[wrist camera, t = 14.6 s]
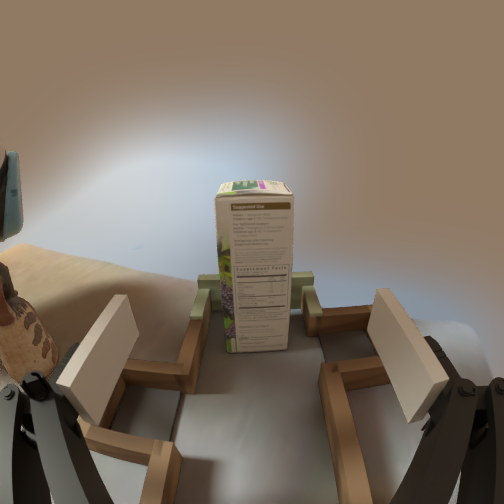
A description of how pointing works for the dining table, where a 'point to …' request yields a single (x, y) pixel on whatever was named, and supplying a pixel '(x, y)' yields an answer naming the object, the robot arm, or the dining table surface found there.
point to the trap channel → (185, 379)
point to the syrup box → (255, 263)
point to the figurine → (22, 334)
